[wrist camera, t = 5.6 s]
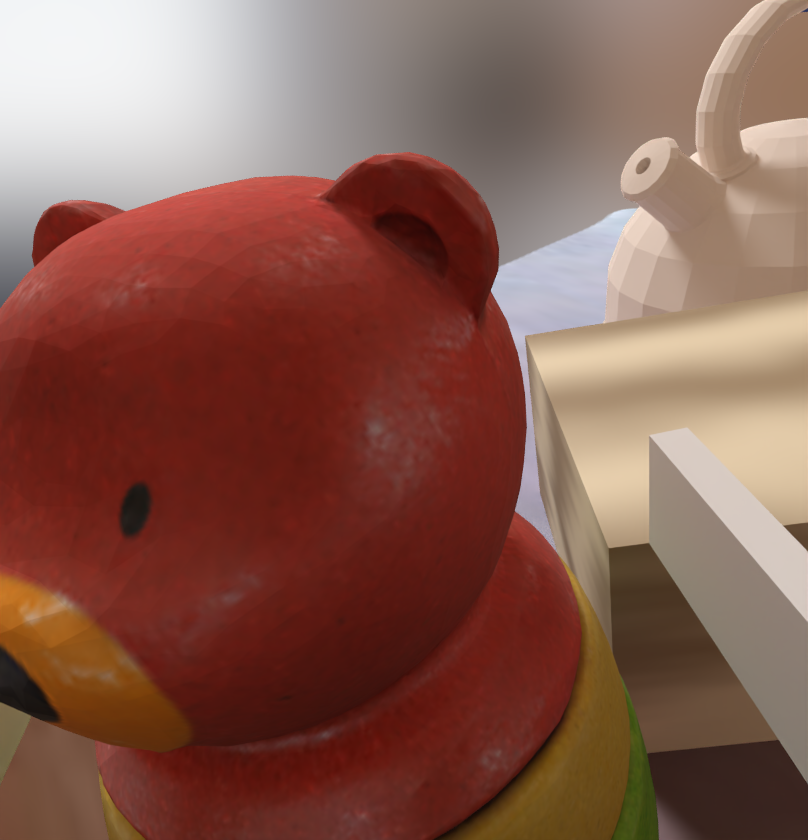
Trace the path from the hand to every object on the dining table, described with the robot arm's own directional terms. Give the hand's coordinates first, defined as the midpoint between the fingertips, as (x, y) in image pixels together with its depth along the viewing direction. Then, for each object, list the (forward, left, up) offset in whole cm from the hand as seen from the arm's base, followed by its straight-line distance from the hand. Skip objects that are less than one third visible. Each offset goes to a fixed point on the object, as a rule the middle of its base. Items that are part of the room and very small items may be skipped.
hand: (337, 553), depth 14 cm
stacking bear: (-3, 0, -10) cm, 11 cm away
